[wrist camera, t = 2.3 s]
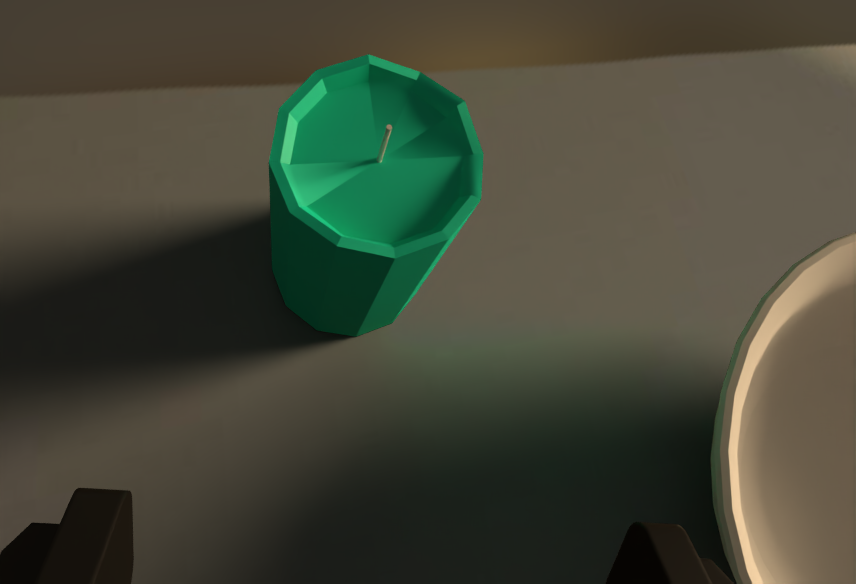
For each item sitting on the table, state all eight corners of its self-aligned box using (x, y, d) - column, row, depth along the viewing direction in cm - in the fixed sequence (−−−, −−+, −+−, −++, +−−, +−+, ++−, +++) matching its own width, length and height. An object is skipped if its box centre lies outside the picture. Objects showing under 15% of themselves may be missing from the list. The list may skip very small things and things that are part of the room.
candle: (386, 361, 30) (454, 279, 18) (245, 299, 29) (224, 175, 18) (441, 231, 31) (534, 84, 20) (310, 171, 31) (328, -15, 20)
